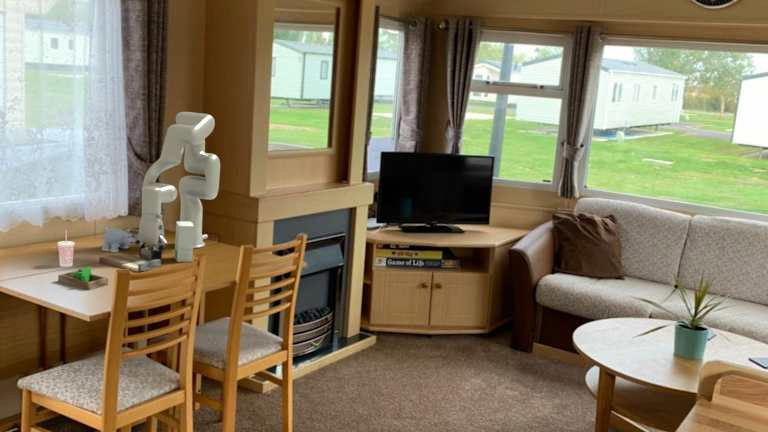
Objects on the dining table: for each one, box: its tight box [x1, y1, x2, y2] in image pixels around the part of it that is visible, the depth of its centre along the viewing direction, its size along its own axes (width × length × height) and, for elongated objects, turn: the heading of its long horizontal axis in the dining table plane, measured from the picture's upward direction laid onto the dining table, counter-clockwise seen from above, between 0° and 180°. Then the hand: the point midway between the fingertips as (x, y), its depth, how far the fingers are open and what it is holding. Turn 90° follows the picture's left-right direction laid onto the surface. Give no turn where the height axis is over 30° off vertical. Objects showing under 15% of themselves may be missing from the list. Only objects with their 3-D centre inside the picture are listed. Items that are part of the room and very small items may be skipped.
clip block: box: [141, 245, 156, 261], centre depth 313 cm, size 6×6×6 cm
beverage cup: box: [57, 229, 76, 268], centre depth 296 cm, size 6×6×14 cm
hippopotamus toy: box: [101, 225, 136, 253], centre depth 326 cm, size 11×15×10 cm
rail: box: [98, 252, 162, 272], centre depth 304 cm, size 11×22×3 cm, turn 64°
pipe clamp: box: [75, 266, 92, 286], centre depth 275 cm, size 11×4×5 cm, turn 10°
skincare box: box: [173, 220, 194, 263], centre depth 317 cm, size 8×7×16 cm
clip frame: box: [122, 228, 148, 245], centre depth 346 cm, size 8×16×3 cm, turn 64°
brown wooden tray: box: [57, 269, 109, 291], centre depth 276 cm, size 8×16×2 cm, turn 64°
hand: (150, 257), depth 313 cm, fingers open, 7 cm apart
